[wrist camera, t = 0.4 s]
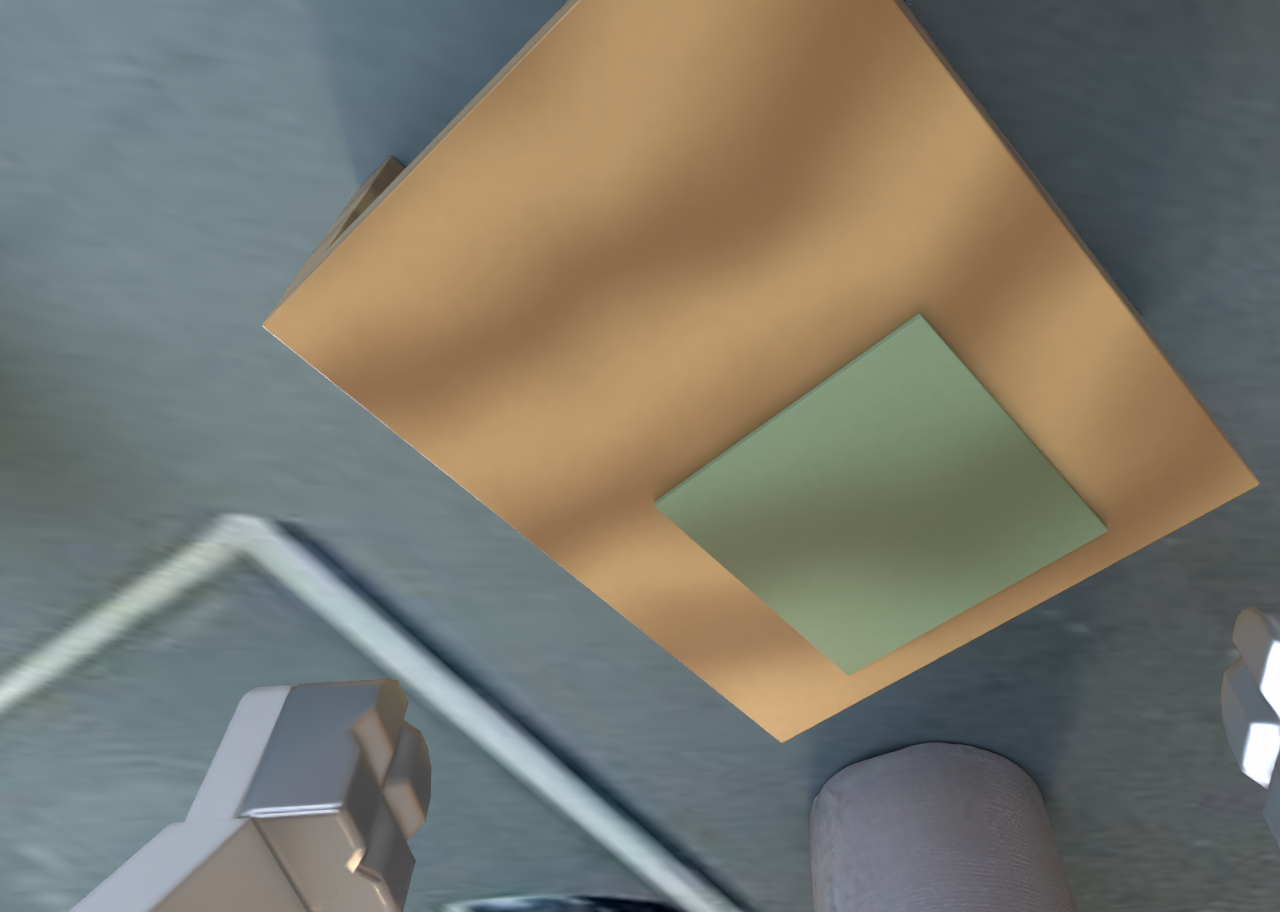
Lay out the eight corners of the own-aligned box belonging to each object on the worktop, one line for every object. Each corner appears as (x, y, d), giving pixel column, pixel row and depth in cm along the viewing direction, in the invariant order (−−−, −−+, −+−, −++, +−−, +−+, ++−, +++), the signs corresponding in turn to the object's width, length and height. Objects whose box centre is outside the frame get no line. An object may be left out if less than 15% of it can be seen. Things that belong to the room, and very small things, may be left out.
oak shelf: (357, 189, 30) (257, 330, 23) (741, -215, 24) (756, -182, 17) (768, 559, 37) (782, 749, 30) (1144, 319, 31) (1264, 490, 24)
